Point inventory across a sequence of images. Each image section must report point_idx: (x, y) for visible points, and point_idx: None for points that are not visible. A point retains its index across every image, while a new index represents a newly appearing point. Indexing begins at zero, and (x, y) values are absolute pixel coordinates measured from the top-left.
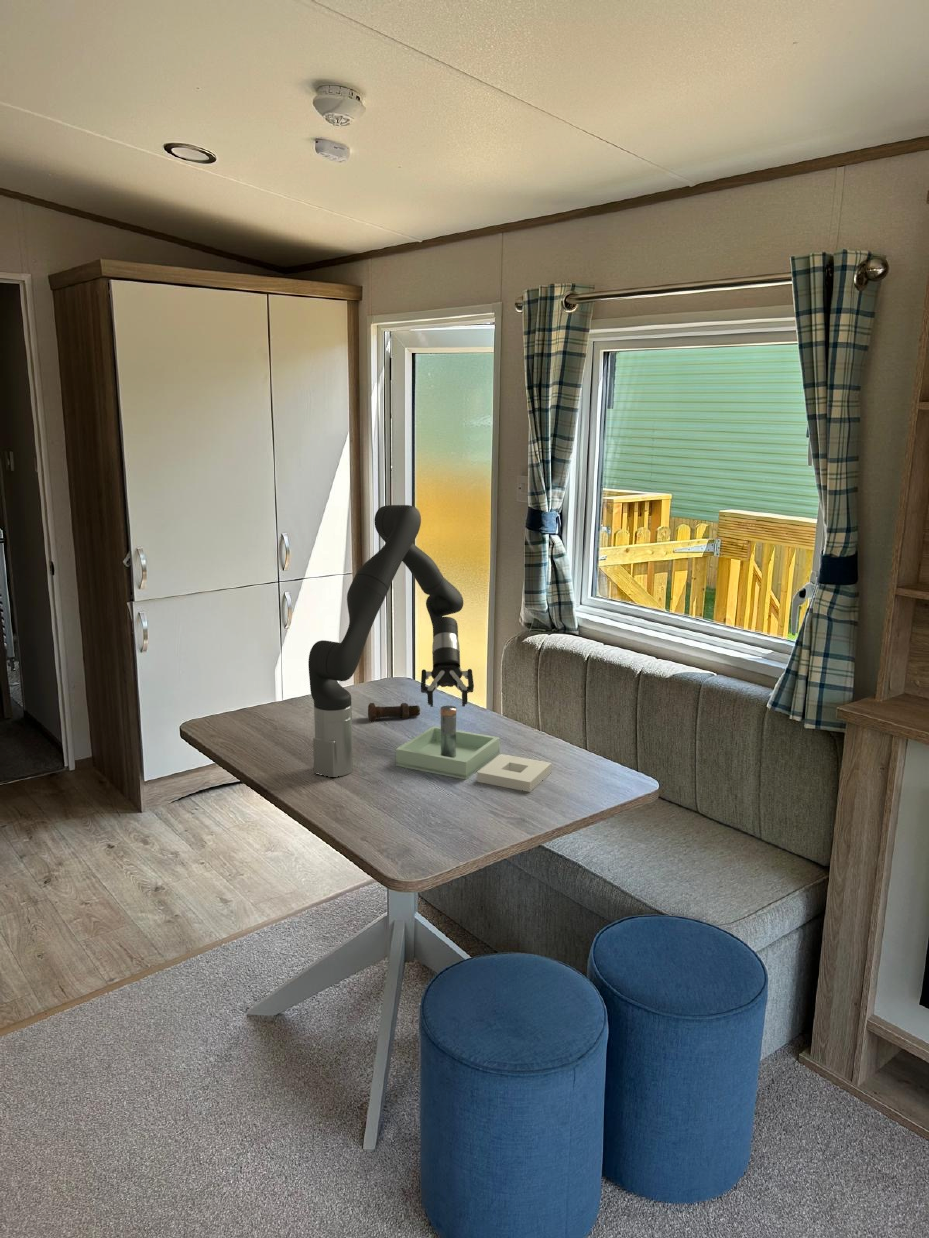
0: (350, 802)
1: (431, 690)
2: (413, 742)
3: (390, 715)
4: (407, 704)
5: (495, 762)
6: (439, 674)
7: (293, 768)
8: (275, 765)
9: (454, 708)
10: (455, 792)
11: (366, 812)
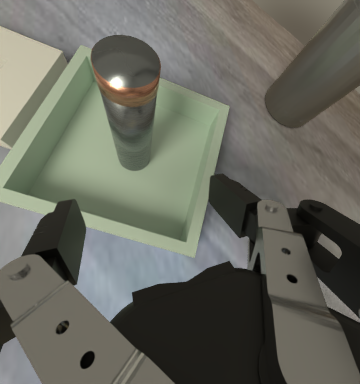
0: (229, 25)
1: (256, 207)
2: (209, 147)
3: None
4: None
5: (19, 92)
6: (317, 314)
7: (331, 112)
8: (353, 120)
9: (99, 52)
10: (104, 37)
11: (204, 2)
